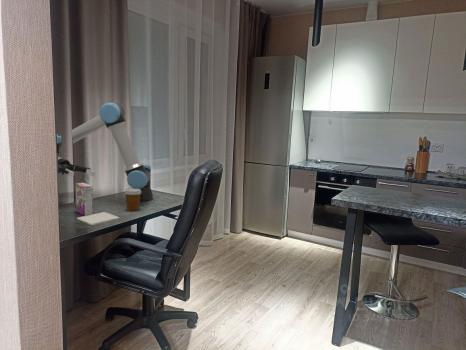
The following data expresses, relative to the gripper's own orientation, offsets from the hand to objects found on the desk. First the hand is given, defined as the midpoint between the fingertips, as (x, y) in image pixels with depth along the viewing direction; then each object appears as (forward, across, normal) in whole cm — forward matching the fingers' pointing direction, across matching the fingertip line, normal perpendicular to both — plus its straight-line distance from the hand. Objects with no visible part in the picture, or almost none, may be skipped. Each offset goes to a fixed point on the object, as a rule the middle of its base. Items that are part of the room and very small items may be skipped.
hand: (84, 174), depth 185 cm
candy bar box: (+7, +1, -21) cm, 22 cm away
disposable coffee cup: (+21, -21, -16) cm, 34 cm away
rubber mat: (+21, +3, -19) cm, 28 cm away
